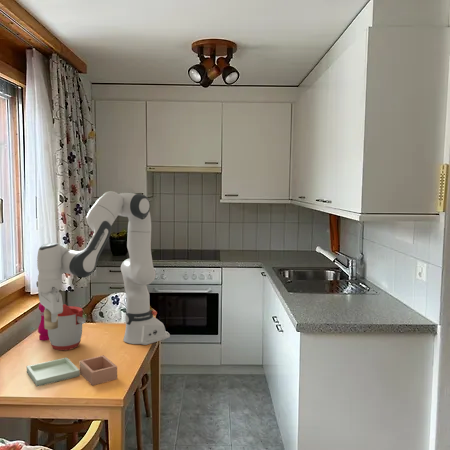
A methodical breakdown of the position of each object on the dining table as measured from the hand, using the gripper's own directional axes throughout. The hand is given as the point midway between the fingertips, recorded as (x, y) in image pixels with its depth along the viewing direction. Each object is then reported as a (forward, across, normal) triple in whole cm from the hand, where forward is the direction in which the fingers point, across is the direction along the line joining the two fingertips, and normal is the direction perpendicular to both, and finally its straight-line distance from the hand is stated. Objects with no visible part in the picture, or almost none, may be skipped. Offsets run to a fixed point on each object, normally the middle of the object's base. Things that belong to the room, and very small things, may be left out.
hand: (51, 319), depth 178 cm
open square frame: (+22, -12, -14) cm, 29 cm away
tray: (+22, 0, 0) cm, 22 cm away
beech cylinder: (+3, 0, 0) cm, 3 cm away
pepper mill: (+22, +44, -9) cm, 50 cm away
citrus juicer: (+22, +27, -14) cm, 38 cm away
